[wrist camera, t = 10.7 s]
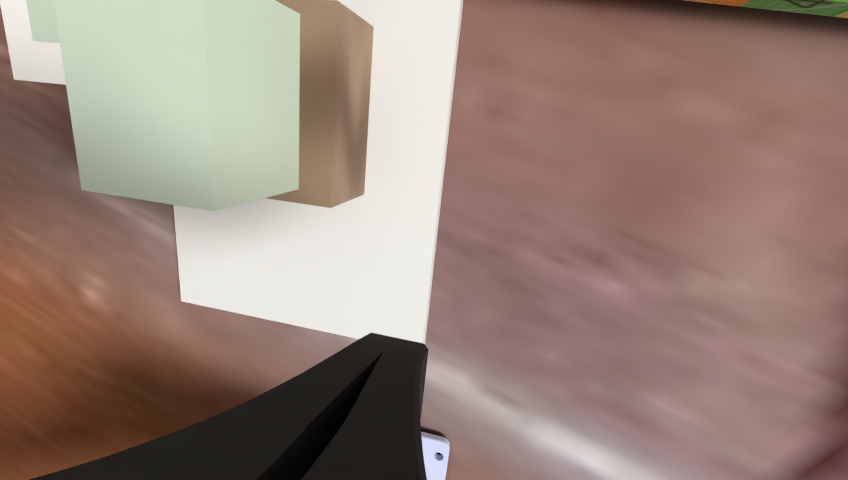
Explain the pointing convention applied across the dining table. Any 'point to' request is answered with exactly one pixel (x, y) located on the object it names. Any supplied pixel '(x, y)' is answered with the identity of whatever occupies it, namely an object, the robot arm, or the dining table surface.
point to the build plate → (348, 204)
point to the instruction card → (33, 40)
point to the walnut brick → (331, 103)
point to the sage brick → (183, 98)
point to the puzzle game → (791, 6)
